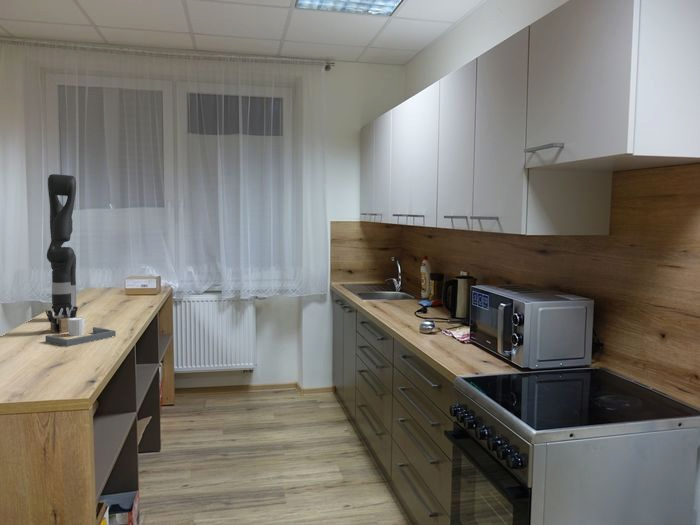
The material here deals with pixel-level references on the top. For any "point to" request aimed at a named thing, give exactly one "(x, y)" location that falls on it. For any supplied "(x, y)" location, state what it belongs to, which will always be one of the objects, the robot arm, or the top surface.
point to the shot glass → (76, 326)
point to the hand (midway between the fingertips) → (62, 330)
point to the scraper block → (61, 325)
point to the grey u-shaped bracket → (74, 341)
